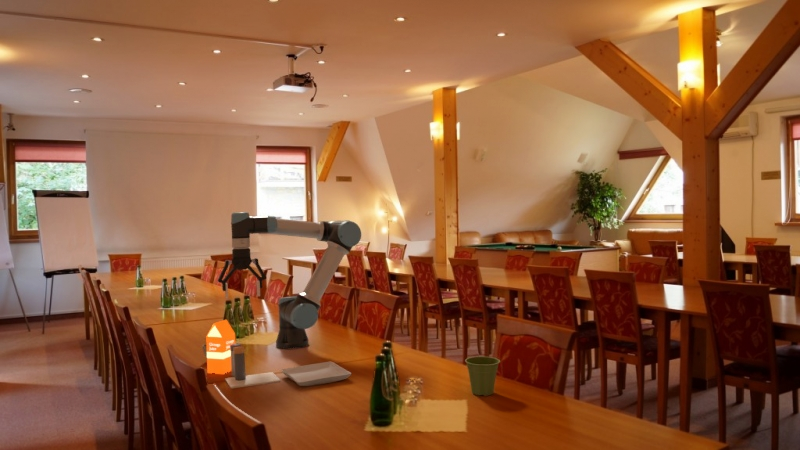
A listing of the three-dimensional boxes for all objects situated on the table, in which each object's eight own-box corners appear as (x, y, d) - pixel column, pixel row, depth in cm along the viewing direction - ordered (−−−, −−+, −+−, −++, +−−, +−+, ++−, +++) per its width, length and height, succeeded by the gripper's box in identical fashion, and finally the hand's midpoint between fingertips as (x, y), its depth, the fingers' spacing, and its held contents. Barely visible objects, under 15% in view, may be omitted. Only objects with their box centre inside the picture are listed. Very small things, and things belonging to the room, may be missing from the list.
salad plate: (298, 391, 222) (297, 381, 222) (280, 377, 240) (280, 368, 240) (353, 382, 232) (352, 372, 231) (331, 369, 250) (331, 360, 250)
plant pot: (492, 400, 205) (491, 366, 204) (459, 395, 211) (458, 362, 210) (506, 391, 215) (505, 358, 214) (474, 386, 221) (474, 354, 220)
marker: (244, 377, 238) (242, 345, 238) (247, 379, 235) (245, 347, 234) (234, 378, 236) (232, 347, 236) (236, 381, 233) (234, 349, 232)
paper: (272, 373, 245) (272, 372, 245) (280, 381, 233) (280, 380, 233) (225, 379, 237) (225, 378, 237) (230, 388, 225) (230, 387, 225)
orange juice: (236, 368, 254) (235, 319, 253) (223, 374, 245) (222, 323, 245) (220, 367, 256) (218, 319, 256) (206, 373, 248) (205, 323, 247)
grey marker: (240, 373, 246) (239, 343, 246) (242, 375, 242) (241, 345, 242) (230, 374, 244) (229, 344, 244) (232, 377, 241) (231, 346, 240)
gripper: (212, 250, 260) (214, 300, 261) (272, 247, 271) (273, 295, 271) (209, 249, 267) (211, 298, 268) (268, 246, 277) (269, 293, 278)
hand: (242, 297), depth 269 cm, fingers open, 13 cm apart
